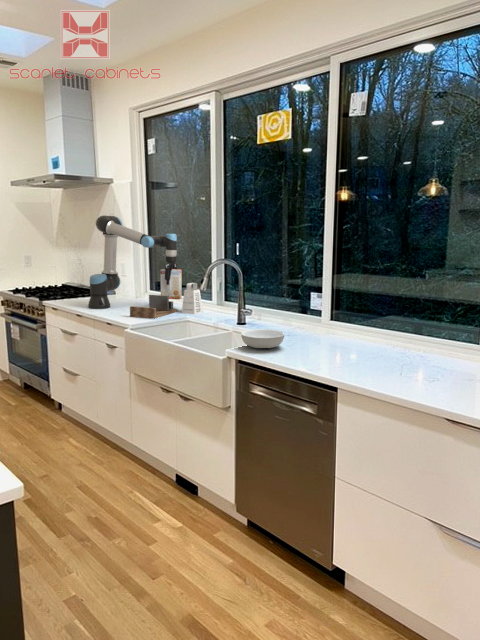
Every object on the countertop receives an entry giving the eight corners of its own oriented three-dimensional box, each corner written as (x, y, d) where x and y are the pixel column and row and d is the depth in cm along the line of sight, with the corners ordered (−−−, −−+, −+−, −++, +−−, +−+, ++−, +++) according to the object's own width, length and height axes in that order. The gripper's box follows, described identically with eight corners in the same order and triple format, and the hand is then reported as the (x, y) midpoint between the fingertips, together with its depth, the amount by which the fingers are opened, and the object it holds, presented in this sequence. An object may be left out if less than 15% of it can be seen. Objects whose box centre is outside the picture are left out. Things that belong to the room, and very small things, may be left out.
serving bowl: (269, 340, 242) (269, 327, 241) (292, 349, 224) (293, 335, 223) (233, 344, 232) (233, 330, 231) (254, 354, 214) (254, 339, 213)
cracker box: (181, 298, 338) (182, 269, 334) (179, 299, 332) (180, 269, 328) (162, 297, 339) (162, 268, 335) (160, 298, 333) (160, 269, 329)
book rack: (130, 316, 304) (129, 306, 302) (155, 309, 332) (154, 300, 331) (154, 318, 297) (154, 308, 296) (177, 311, 326) (177, 302, 325)
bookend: (149, 309, 321) (148, 294, 319) (156, 307, 330) (156, 293, 328) (167, 310, 316) (167, 296, 314) (174, 308, 325) (174, 294, 324)
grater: (202, 312, 324) (202, 283, 321) (194, 314, 315) (194, 284, 311) (190, 310, 329) (190, 282, 325) (181, 312, 320) (181, 283, 316)
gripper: (169, 256, 319) (169, 290, 323) (182, 255, 337) (182, 287, 342) (159, 256, 322) (159, 289, 326) (173, 255, 340) (173, 287, 344)
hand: (171, 288), depth 334 cm, fingers closed on cracker box, 7 cm apart
